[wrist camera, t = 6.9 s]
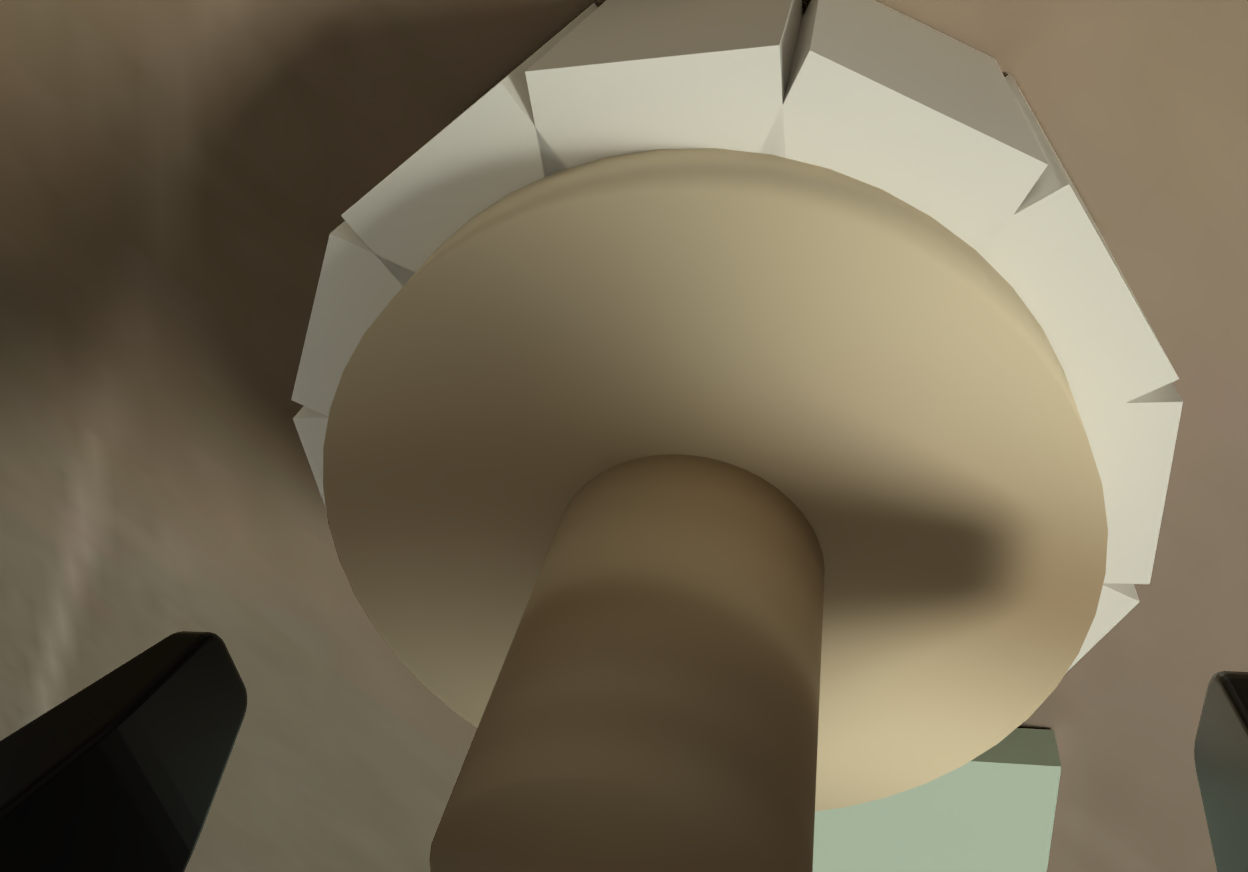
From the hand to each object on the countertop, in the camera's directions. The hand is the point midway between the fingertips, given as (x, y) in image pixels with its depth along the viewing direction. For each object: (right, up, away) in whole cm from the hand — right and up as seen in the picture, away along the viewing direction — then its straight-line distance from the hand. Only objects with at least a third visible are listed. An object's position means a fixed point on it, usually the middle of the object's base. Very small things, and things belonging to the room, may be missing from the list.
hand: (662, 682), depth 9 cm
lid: (+1, +2, +2) cm, 3 cm away
